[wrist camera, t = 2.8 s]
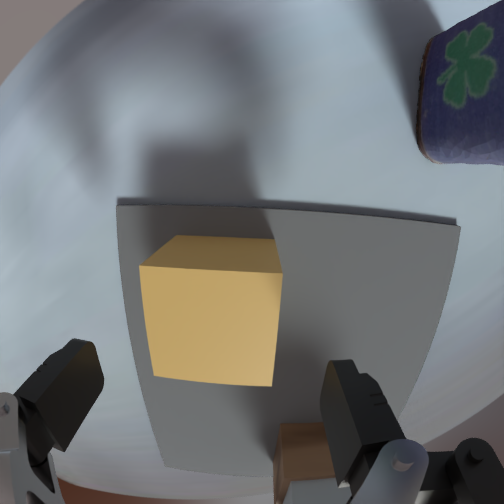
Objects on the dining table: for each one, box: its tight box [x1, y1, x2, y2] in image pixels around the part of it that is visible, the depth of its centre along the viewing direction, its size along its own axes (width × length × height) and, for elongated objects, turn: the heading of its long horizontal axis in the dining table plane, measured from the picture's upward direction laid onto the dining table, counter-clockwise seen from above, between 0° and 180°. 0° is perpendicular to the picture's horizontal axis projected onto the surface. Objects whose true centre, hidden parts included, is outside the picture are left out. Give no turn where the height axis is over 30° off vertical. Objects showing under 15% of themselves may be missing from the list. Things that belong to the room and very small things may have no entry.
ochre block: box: [139, 235, 283, 386], centre depth 13 cm, size 5×5×5 cm
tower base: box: [273, 422, 335, 504], centre depth 16 cm, size 6×6×5 cm
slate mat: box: [116, 205, 461, 477], centre depth 17 cm, size 24×20×1 cm
